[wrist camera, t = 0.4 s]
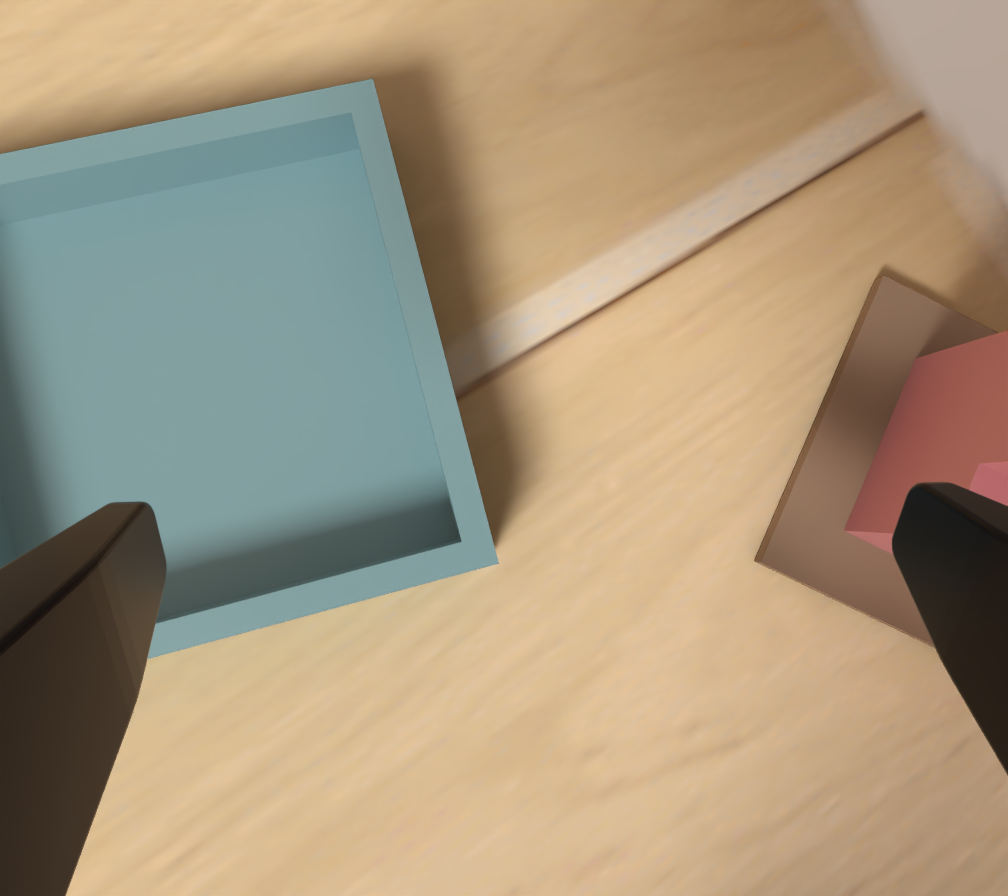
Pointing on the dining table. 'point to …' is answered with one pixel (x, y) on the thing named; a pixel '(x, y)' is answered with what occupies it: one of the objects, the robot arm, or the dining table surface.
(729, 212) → the dining table surface
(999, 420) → the red stepped block
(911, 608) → the stake stand
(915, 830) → the dining table surface
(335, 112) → the tray
